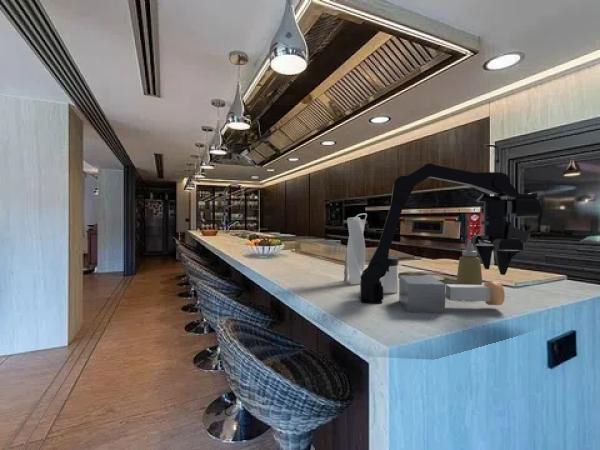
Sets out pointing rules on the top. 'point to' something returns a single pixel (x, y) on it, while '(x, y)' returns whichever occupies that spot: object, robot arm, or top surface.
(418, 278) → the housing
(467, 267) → the squeeze bottle
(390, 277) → the jar
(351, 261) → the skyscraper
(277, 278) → the top surface
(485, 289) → the white and tan bar
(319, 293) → the top surface
